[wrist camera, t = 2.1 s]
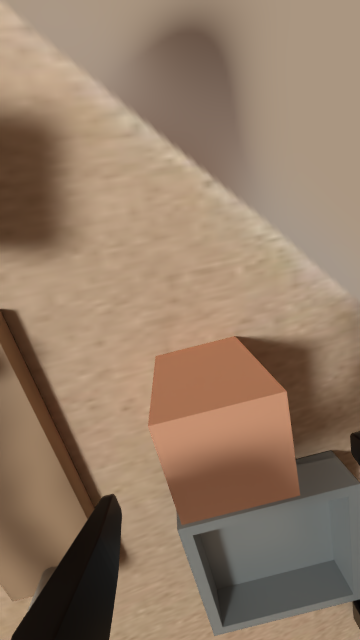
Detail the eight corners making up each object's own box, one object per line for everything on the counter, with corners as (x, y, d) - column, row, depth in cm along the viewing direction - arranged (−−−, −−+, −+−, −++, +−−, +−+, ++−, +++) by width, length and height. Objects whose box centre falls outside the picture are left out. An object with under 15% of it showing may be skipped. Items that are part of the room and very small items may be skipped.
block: (234, 335, 13) (286, 391, 8) (247, 404, 15) (300, 495, 9) (155, 356, 13) (148, 426, 8) (175, 422, 15) (181, 525, 9)
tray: (331, 450, 16) (360, 483, 14) (339, 556, 19) (364, 598, 17) (175, 489, 16) (177, 529, 14) (208, 589, 19) (214, 635, 17)
